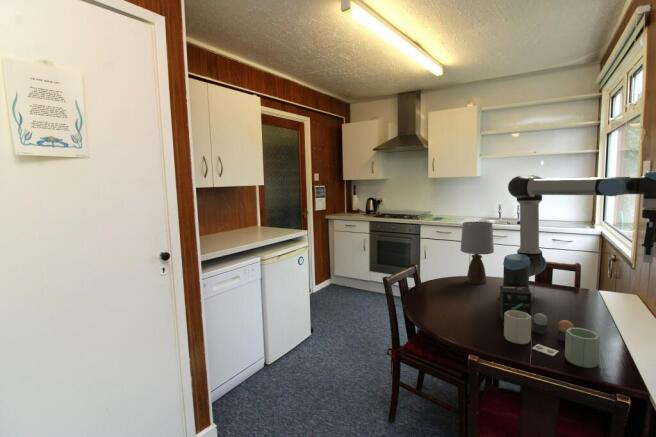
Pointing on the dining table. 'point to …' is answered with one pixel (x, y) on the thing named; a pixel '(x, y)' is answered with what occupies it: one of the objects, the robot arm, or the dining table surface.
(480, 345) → the dining table surface
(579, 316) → the dining table surface
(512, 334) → the beaker cream
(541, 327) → the cradle grey
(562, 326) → the terracotta ball
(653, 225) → the robot arm
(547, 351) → the card
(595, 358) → the beaker sage
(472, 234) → the lamp
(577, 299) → the dining table surface
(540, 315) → the grey ball
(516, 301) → the tampon box
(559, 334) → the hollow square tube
